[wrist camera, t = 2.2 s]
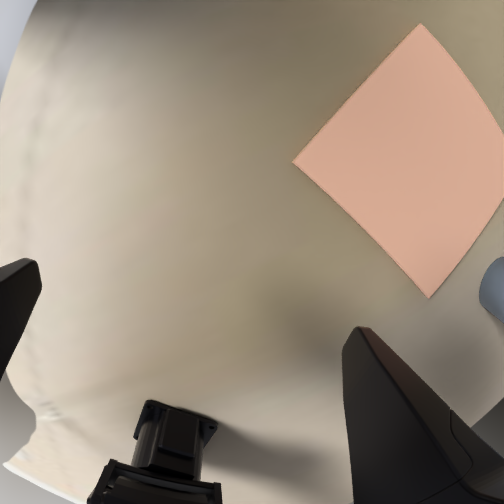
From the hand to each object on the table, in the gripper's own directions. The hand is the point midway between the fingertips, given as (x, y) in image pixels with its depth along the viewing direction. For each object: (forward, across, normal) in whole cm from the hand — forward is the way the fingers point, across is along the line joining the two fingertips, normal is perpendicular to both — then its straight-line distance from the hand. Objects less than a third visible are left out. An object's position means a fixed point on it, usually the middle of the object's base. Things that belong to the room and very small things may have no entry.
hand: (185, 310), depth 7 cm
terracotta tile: (+12, -13, -5) cm, 18 cm away
